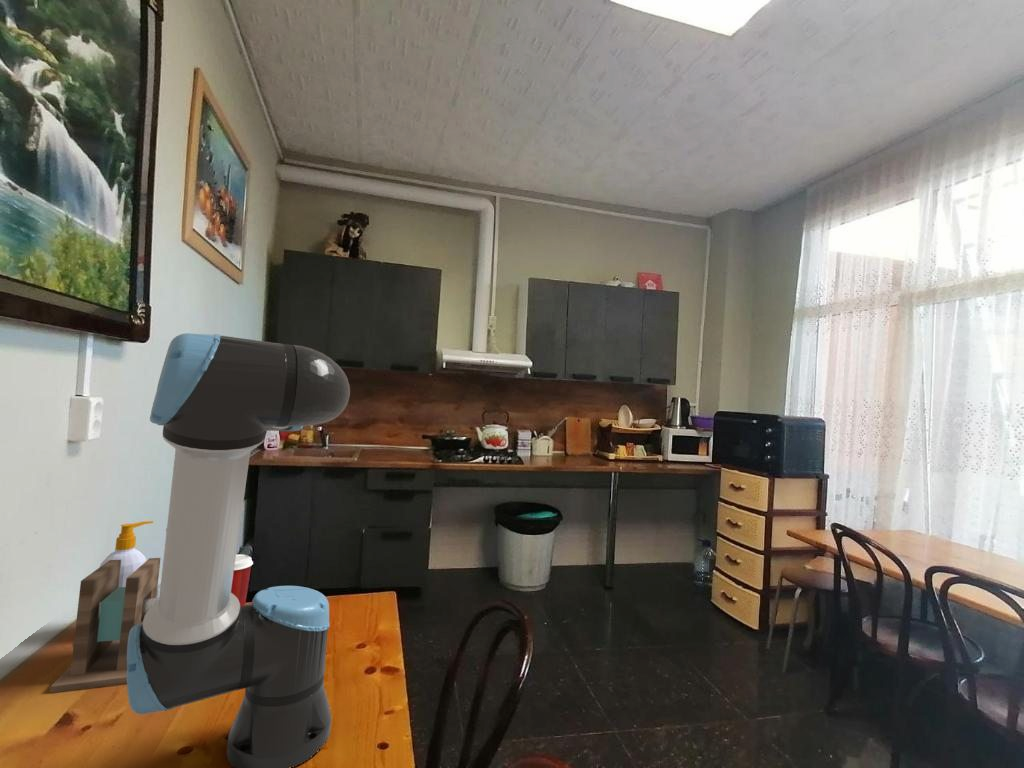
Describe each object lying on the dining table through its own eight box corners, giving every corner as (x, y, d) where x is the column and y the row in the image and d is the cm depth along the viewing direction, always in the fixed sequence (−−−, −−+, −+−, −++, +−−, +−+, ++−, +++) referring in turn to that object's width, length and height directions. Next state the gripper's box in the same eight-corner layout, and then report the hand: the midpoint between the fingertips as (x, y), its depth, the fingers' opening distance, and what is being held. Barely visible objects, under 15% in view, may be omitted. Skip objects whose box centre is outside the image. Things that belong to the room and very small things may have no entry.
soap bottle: (152, 626, 108) (162, 523, 109) (102, 643, 100) (114, 531, 101) (132, 617, 112) (143, 517, 113) (83, 632, 104) (95, 524, 105)
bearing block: (163, 679, 89) (173, 581, 90) (49, 693, 83) (61, 587, 84) (190, 634, 106) (198, 552, 107) (97, 643, 100) (107, 556, 101)
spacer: (119, 639, 91) (124, 600, 91) (96, 641, 90) (101, 602, 90) (135, 622, 98) (139, 586, 98) (114, 624, 97) (118, 587, 97)
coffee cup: (236, 611, 118) (241, 551, 119) (254, 620, 114) (260, 558, 115) (200, 623, 111) (207, 559, 112) (219, 633, 107) (225, 567, 108)
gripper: (202, 461, 89) (190, 573, 88) (229, 447, 113) (220, 535, 112) (155, 460, 87) (142, 575, 86) (193, 446, 110) (183, 536, 109)
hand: (187, 553), depth 99 cm, fingers open, 13 cm apart
